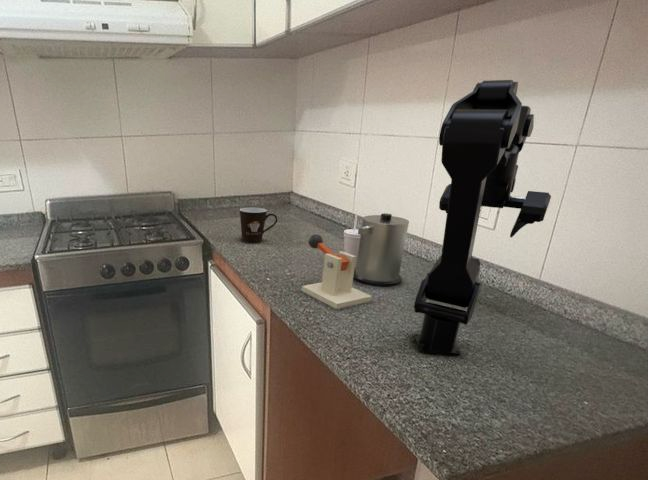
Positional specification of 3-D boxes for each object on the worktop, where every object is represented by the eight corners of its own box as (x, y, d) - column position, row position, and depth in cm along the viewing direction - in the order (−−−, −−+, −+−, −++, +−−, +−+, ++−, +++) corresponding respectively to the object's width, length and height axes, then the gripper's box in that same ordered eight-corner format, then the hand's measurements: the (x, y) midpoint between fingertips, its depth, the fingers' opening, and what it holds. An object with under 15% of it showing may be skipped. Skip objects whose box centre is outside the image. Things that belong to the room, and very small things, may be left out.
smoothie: (334, 264, 122) (340, 213, 116) (354, 262, 124) (361, 212, 118) (348, 271, 116) (355, 218, 111) (368, 269, 119) (376, 217, 113)
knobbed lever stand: (301, 292, 102) (304, 250, 98) (334, 285, 106) (339, 245, 102) (336, 310, 92) (342, 265, 88) (371, 302, 97) (378, 259, 93)
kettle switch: (304, 244, 103) (308, 232, 101) (315, 243, 104) (319, 231, 102) (335, 273, 95) (340, 261, 93) (346, 271, 97) (351, 259, 95)
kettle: (372, 293, 102) (383, 222, 95) (335, 278, 111) (343, 212, 105) (416, 281, 110) (430, 215, 103) (379, 268, 119) (389, 207, 112)
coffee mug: (235, 242, 142) (236, 211, 138) (243, 236, 149) (244, 206, 145) (270, 246, 138) (272, 214, 134) (276, 240, 146) (278, 209, 142)
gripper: (566, 148, 82) (547, 213, 93) (457, 144, 92) (452, 202, 103) (552, 187, 77) (534, 250, 89) (440, 177, 87) (436, 235, 99)
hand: (487, 232), depth 95 cm, fingers open, 9 cm apart
